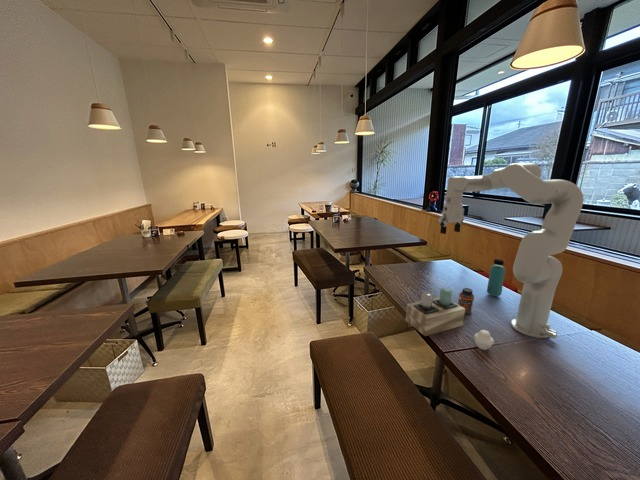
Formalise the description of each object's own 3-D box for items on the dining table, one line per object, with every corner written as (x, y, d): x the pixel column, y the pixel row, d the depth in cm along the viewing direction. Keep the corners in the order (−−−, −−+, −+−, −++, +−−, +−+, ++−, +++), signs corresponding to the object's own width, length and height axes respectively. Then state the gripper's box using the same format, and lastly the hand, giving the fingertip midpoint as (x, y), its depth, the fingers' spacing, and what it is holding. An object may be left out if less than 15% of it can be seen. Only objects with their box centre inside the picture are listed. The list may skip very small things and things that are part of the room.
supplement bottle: (456, 313, 119) (460, 290, 116) (457, 307, 124) (460, 285, 121) (471, 316, 116) (475, 293, 113) (471, 310, 121) (474, 288, 118)
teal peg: (452, 308, 110) (454, 291, 108) (444, 310, 109) (446, 293, 107) (444, 303, 114) (446, 287, 112) (436, 305, 113) (438, 288, 111)
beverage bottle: (503, 297, 133) (510, 260, 127) (494, 299, 130) (501, 262, 125) (491, 292, 138) (497, 256, 133) (482, 294, 136) (488, 258, 131)
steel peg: (433, 313, 107) (435, 295, 105) (425, 315, 105) (427, 297, 103) (426, 308, 111) (427, 291, 109) (417, 310, 109) (419, 292, 107)
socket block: (462, 325, 109) (465, 307, 107) (425, 336, 103) (427, 317, 100) (440, 311, 120) (442, 294, 118) (405, 320, 113) (406, 303, 111)
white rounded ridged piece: (470, 346, 96) (472, 330, 94) (476, 339, 100) (479, 323, 98) (488, 355, 92) (491, 338, 90) (494, 347, 95) (497, 331, 94)
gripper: (446, 202, 128) (442, 235, 133) (472, 200, 134) (467, 232, 138) (435, 200, 135) (432, 232, 139) (460, 199, 141) (456, 229, 145)
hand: (449, 232), depth 139 cm, fingers open, 9 cm apart
